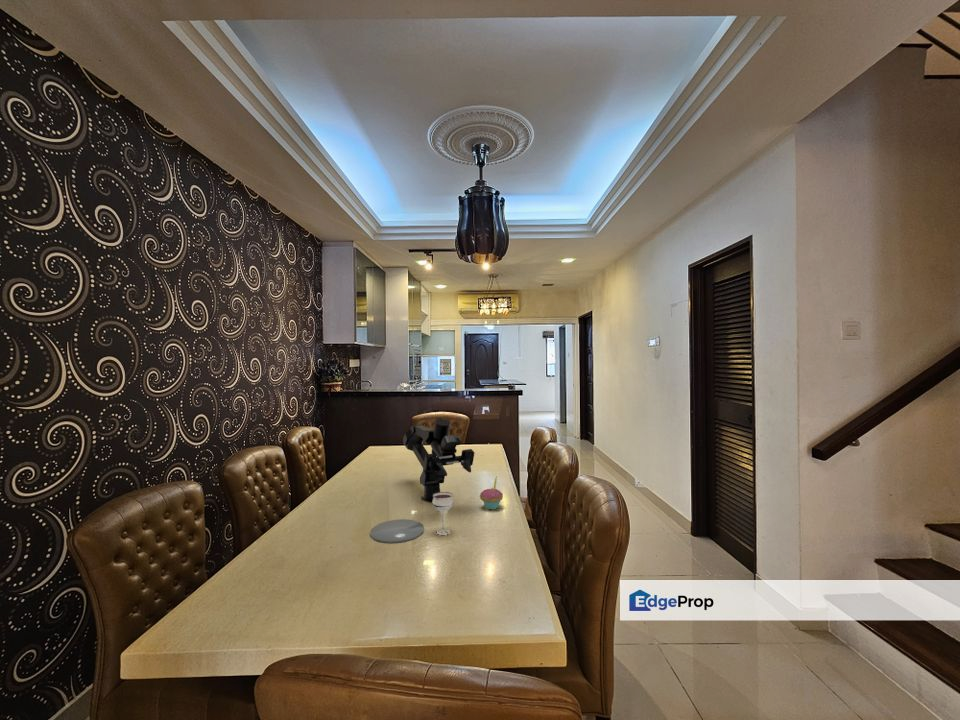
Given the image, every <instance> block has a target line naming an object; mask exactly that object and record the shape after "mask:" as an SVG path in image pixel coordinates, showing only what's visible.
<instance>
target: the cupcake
mask: <svg viewBox="0 0 960 720" xmlns="http://www.w3.org/2000/svg"><path fill="white" fill-rule="evenodd" d="M497 477H498V476H496V477H495V478H494V483H493V487H491V488H487V489H484V490H483V491H481V492H480V495H479V499H480V500H481V501H482V502H483V505H484V508H485V509H486V508H487V509H496V508H498V509H499V506H500V503H501V501H502V500H503V497H504V496H503V492H501V490H498V489H497V488H496V487H497V480H498V479H497ZM487 509H486V510H487ZM496 510H497V509H496Z"/></svg>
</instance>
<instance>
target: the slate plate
mask: <svg viewBox="0 0 960 720" xmlns="http://www.w3.org/2000/svg"><path fill="white" fill-rule="evenodd" d="M424 531H425V525H424V524H423V523H421V522H419V521H418V520H414V519H393V520H392V519H391V520H387V521H384V522H380V523H378V524H376V525H375V526H373V527H372V528H371V529H370V537H372V538H373V539H372V538H371V539H372V540H374V541H375V540H376V542H378V541H379V542H378V543H382V542H383V544H401V543H406V542H410V541H413V540H416V539H418V538H419V537H421V536H422V535H424Z"/></svg>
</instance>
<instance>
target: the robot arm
mask: <svg viewBox="0 0 960 720" xmlns="http://www.w3.org/2000/svg"><path fill="white" fill-rule="evenodd" d="M450 427H451V421H450V420H448V419H443V418H442V417H437V418H436V420H435V421H434V428H433V429H432V428H429V427H427V426H424V424H413V425H411V426H410V428H409V430H407V431H406V432H405V433H404V435H403V439H402V443H403V446H405V448H406V449H407V450H409V451H411V452H413V453H414V455H415V457H416V458H417V461H418V462H419V463H420V465H421V466H420V467H421V468H422V472H421V474H420V477H419V483H420V485H422V486H423V487H424V489H423V491H424V493H423V494H424V495H423V496H420V498H422V500H424V501H426V500H427V501H426V502H428V501H429V502H428V503H432V501H433V494H435V493H438V492H441V487H440V486H441V484H444V483H445V478H446V477H447V476H448V473H447V470H446V469H445V467H444V466H450V465H452V466H453V465H454V464H457V463H458V464H459V463H460V466H462V469H464V470H465V471H467V472H468V473H469V474H470V473H472V467H471V466H472V465H473V464H474V457H475V451H474V450H473V449H472V448H469V449H462V450H461V455H456V453H457V452H458V450H457V448H456V447H458V446H460V445H461V443H462V439H461V437H460V436H459V435H454V434H452V435H450V429H451V428H450ZM424 444H425V445H426V446H428V445H429V446H430V447H431V453H429V452H428V451H427V449H426V448H425V446H424Z"/></svg>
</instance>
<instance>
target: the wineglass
mask: <svg viewBox="0 0 960 720" xmlns="http://www.w3.org/2000/svg"><path fill="white" fill-rule="evenodd" d="M453 496H454V494H453V493H452V492H449V491H440V492H438V493H435V494H433V501H432V502H431V504H432V506H433V508H434V509H435V510H436V511H438V512H440V514H441V524H442V528H441V529H438V530H436V531H437V534H440V535H444V534H448V533H449V532H450V531H451V530H450V529H445V513H446V512H447V511H449V510H450V509H451V508H452V507H453V505H454V498H453ZM449 530H450V531H449ZM437 534H436V535H437ZM440 535H439V536H440Z"/></svg>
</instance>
